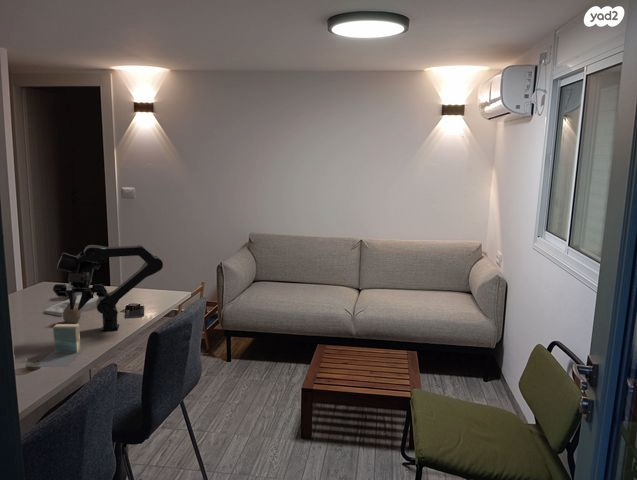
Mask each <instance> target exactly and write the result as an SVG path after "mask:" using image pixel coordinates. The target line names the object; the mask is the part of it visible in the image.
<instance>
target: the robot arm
mask: <svg viewBox="0 0 637 480" xmlns="http://www.w3.org/2000/svg"><path fill="white" fill-rule="evenodd" d="M136 256H138V257H140V258H141V259H142V260H143V261H144V263H143V264H142V265H141V267H140V268H139V269H138V270H137V271H135V272H134V273H133V274H132V275H131V276H129V277H128V278H127V279H126V280H125V281H123V282H122V283H121V284H120V285H119V286H117V287H116V288H115V289H114V290H112V291H110V292H108V290H107V288H106V286H105V285H104V284H101V283H99V284H98V283H97V284H92V287H90V285H91V283H92V282H93V280H92V278H93V273H94V270H99V269H100V267H101V264H100V263H98V261H100V260H105V259H107V258H117V257H118V258H119V257H136ZM163 263H164V262H163V261H162V259H161V258H160V257H159V256H158V255H153V253H151V252H150V251H148V250H147V249H146V248H145V247H144V246H143V245H141V244H139V245H128V246H127V245H126V246H104V245H97V244H89V245H87V246H86V247H84V250H83V251H81V252H80V253H78V254H77V255H73V254H69V253H67V252H62V254H61V256H60V258H59V260H58V263H57V267H56V269H57V270H60V271H64V272H67V273H68V280H67V281H68V283H69V282H71V285H72V286H73V287H68V286H67V284H65V283H56V284H54V285H53V287H52V291H53V292H54V294H55V295H56V296H57V297H59V298H60V297H63V298H64V297H67V296H68V297H67V298H68V299H69V301H70V309H71V310H73V308H74V305H75V302H76V299H77V297H76V295H75V293H82V296H81V299H80V302H79V305H78V310H80V309H81V308H82V307H83V306H84V305H85V304H86V303H87V302H88V301H89V300H90V299H92V298H94V297H93V295H94V294H95V293H96V295H95V296H98V298H99V299H98V300H97V302H96V306H97V309H96V310H97V311H98V313H100V314H102V316H101V317H102V327H101V330H100V331H101V332H113V331H118V330H119V328H120V324H119V323H118V314H119V312H118V309H117V306H116V305H117V304H118V302H119V301H120V299H122V298H123V297H124V296H126V295H127V294H128V293H129V292H130V291H131V290H133V289H134V288H135V287H136V286H137V285H139V284H140V283H141V282H143V280H145V279H146V278H148V277H150V276H152V275H155V274H156V273H158V272H160V271H161V270H162V269H163V268H164V264H163ZM77 268H78V269H77ZM76 270H77V272H76ZM73 272H75V273H73Z"/></svg>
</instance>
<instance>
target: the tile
mask: <svg viewBox="0 0 637 480" xmlns="http://www.w3.org/2000/svg"><path fill="white" fill-rule="evenodd" d="M52 331H53V345H54V350H55V353H78V352H79V351H80V350H81V348H82V347H81V336H80V335H81V334H80V324H79V323H73V324H68V323H64V324H63V323H62V324H61V323H59V324H58V323H56V324H55V325H54V326H53V327H52Z"/></svg>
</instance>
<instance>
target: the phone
mask: <svg viewBox="0 0 637 480" xmlns="http://www.w3.org/2000/svg"><path fill="white" fill-rule="evenodd" d="M139 306H140V309H138V310H134V311H130V310H127V309H126V312H125V319H135V318H144V317H145V305H139Z"/></svg>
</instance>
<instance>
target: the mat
mask: <svg viewBox="0 0 637 480" xmlns="http://www.w3.org/2000/svg"><path fill="white" fill-rule="evenodd" d="M86 349H87V348H86V347H81V350H80V351H79V352H78V353H55V349H54V350H53V351H51V352H50V353H49V354H47V356H45V358H43V359H42V360H41V361H40V362H39V363H40V365H38V364H37V365H38V366H37V365H36V366H35V367H37V368H38V367H44V368H45V367H70V366H71V365H72V363H74V362H75V361H76V359H78V358H79V356H81V354H82V353H83V352H85V350H86Z"/></svg>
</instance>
